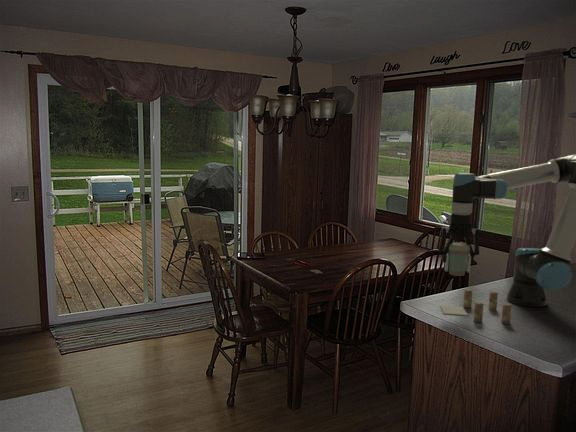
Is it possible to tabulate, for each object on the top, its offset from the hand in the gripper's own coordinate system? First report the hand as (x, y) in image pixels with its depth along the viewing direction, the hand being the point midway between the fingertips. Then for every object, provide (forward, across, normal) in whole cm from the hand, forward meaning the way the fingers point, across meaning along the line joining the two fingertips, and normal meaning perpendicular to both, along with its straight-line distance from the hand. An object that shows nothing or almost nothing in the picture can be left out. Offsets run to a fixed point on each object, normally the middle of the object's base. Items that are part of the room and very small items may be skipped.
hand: (457, 271), depth 188 cm
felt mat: (+16, 0, 0) cm, 16 cm away
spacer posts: (+16, -11, +2) cm, 20 cm away
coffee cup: (+1, 0, 0) cm, 1 cm away
